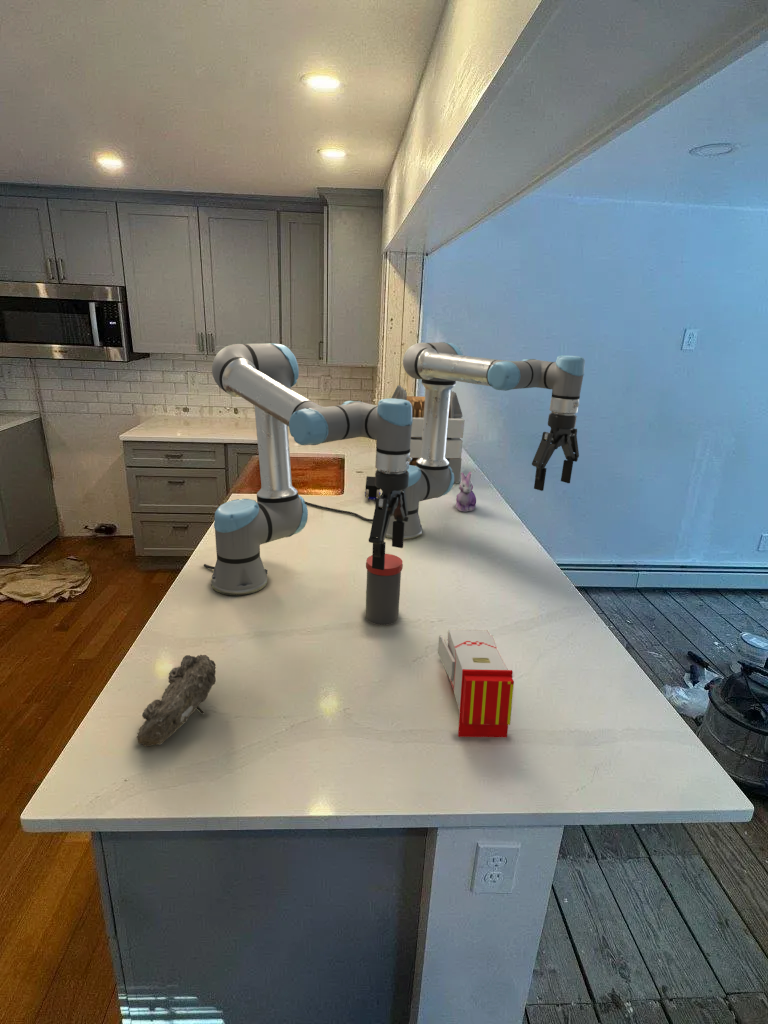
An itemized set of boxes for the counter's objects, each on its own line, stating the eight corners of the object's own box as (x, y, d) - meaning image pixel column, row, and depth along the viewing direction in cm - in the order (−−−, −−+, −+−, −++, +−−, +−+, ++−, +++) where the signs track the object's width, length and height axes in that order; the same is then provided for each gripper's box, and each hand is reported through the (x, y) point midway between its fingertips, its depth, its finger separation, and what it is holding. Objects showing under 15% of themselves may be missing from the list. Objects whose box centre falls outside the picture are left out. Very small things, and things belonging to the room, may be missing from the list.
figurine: (463, 513, 222) (466, 477, 217) (448, 505, 231) (451, 470, 225) (482, 510, 226) (486, 474, 221) (467, 503, 235) (471, 468, 230)
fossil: (167, 656, 118) (217, 624, 113) (199, 686, 121) (249, 656, 116) (112, 740, 99) (170, 705, 94) (152, 773, 102) (210, 741, 97)
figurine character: (380, 506, 230) (380, 491, 243) (381, 489, 227) (381, 475, 240) (364, 506, 230) (364, 491, 243) (364, 489, 226) (365, 474, 240)
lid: (408, 565, 143) (408, 558, 143) (392, 579, 135) (393, 572, 135) (376, 557, 147) (376, 550, 146) (359, 570, 139) (359, 563, 139)
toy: (488, 613, 130) (523, 677, 101) (484, 667, 133) (517, 744, 104) (435, 612, 130) (455, 676, 101) (432, 666, 133) (451, 743, 103)
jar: (403, 613, 148) (407, 560, 143) (389, 628, 141) (392, 572, 135) (374, 605, 151) (377, 552, 146) (359, 619, 144) (361, 564, 139)
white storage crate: (382, 463, 289) (386, 382, 275) (445, 464, 293) (451, 384, 279) (390, 482, 257) (394, 392, 243) (460, 483, 261) (468, 394, 247)
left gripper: (389, 487, 114) (385, 582, 121) (424, 459, 136) (418, 541, 143) (355, 482, 116) (352, 575, 123) (394, 455, 138) (390, 536, 145)
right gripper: (548, 419, 148) (537, 496, 155) (598, 411, 163) (586, 482, 171) (525, 414, 153) (515, 489, 160) (575, 407, 169) (564, 476, 176)
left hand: (388, 557), depth 133 cm, fingers open, 13 cm apart
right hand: (552, 485), depth 166 cm, fingers open, 13 cm apart
